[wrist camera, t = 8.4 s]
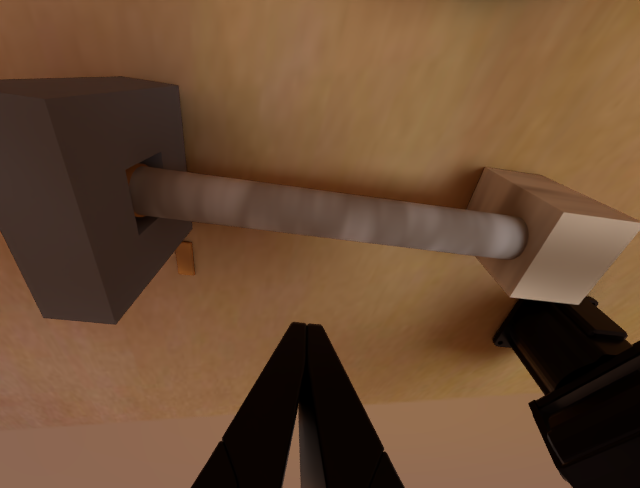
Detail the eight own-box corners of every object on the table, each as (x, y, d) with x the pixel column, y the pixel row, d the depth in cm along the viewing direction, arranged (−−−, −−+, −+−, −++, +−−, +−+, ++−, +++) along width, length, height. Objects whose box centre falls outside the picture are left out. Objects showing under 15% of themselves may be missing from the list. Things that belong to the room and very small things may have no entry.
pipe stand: (470, 303, 25) (519, 377, 19) (27, 255, 22) (-81, 325, 16) (541, 175, 19) (645, 223, 13) (-50, 87, 16) (-267, 97, 10)
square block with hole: (192, 228, 20) (115, 324, 13) (148, 223, 20) (43, 317, 12) (178, 85, 16) (44, 99, 8) (121, 76, 16) (-73, 81, 8)
